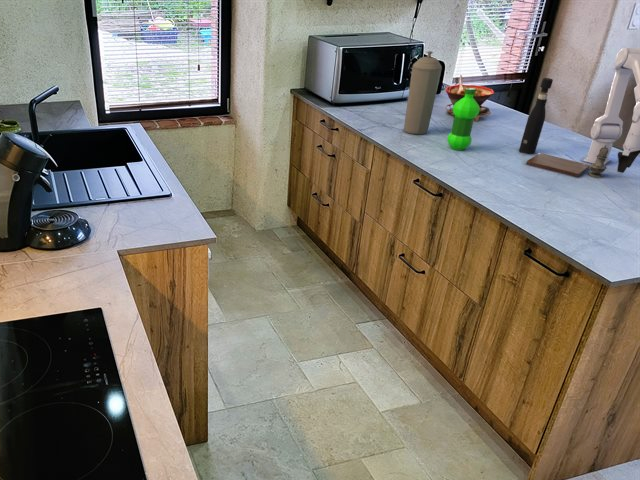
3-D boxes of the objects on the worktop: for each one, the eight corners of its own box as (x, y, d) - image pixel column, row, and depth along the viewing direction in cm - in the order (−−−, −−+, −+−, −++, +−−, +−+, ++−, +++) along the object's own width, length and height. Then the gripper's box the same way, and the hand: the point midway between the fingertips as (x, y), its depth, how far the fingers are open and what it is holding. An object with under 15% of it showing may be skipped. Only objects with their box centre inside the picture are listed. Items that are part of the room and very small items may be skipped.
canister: (399, 133, 272) (412, 52, 253) (403, 126, 282) (417, 47, 263) (427, 137, 268) (443, 55, 249) (431, 129, 278) (446, 50, 259)
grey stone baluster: (605, 178, 229) (616, 148, 222) (589, 177, 230) (600, 146, 223) (600, 173, 234) (611, 143, 227) (584, 171, 235) (595, 142, 228)
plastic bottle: (473, 148, 256) (487, 88, 243) (462, 154, 250) (476, 93, 236) (452, 142, 262) (464, 84, 248) (441, 148, 255) (453, 88, 242)
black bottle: (535, 150, 255) (556, 78, 239) (534, 155, 250) (556, 81, 234) (519, 148, 257) (539, 76, 241) (518, 152, 252) (538, 79, 236)
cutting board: (539, 156, 249) (540, 152, 248) (589, 168, 238) (590, 165, 237) (526, 164, 241) (527, 160, 240) (577, 177, 229) (578, 173, 228)
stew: (436, 104, 315) (443, 73, 306) (483, 107, 312) (490, 75, 304) (444, 119, 292) (451, 86, 283) (494, 122, 289) (503, 88, 280)
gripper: (644, 140, 210) (629, 177, 217) (654, 132, 219) (640, 167, 226) (622, 136, 214) (608, 172, 222) (633, 128, 223) (620, 162, 230)
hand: (623, 169), depth 224 cm, fingers open, 7 cm apart
